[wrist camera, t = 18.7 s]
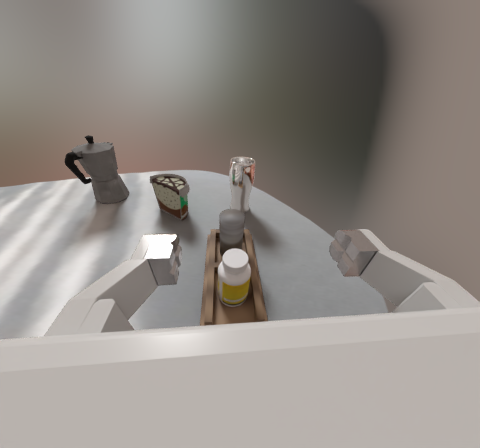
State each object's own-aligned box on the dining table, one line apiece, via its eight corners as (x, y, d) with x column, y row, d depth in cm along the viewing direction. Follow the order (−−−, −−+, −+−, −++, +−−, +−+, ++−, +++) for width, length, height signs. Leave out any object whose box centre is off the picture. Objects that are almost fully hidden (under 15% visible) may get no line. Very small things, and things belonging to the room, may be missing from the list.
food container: (201, 212, 55) (198, 181, 49) (185, 222, 51) (180, 190, 44) (173, 199, 60) (167, 169, 53) (156, 207, 56) (148, 176, 49)
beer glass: (251, 214, 56) (258, 166, 46) (228, 214, 55) (230, 165, 46) (248, 202, 61) (253, 156, 52) (228, 202, 60) (229, 155, 51)
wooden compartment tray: (267, 326, 30) (280, 289, 24) (200, 329, 29) (193, 292, 23) (250, 236, 48) (255, 200, 41) (208, 237, 47) (205, 200, 40)
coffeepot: (114, 185, 64) (92, 128, 53) (139, 189, 63) (122, 132, 52) (76, 209, 52) (37, 142, 41) (106, 214, 51) (75, 147, 40)
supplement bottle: (253, 297, 33) (260, 262, 27) (228, 313, 31) (229, 278, 25) (236, 276, 37) (239, 240, 31) (212, 289, 34) (210, 253, 28)
